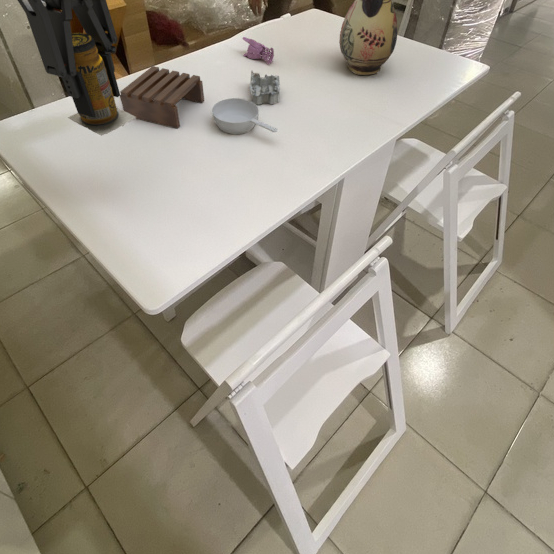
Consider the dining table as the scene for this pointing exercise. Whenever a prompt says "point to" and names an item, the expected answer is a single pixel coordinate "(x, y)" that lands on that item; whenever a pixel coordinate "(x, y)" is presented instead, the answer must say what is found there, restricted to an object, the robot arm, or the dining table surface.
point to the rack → (160, 95)
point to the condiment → (96, 88)
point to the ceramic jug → (368, 35)
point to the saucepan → (237, 116)
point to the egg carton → (264, 88)
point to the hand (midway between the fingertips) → (99, 103)
